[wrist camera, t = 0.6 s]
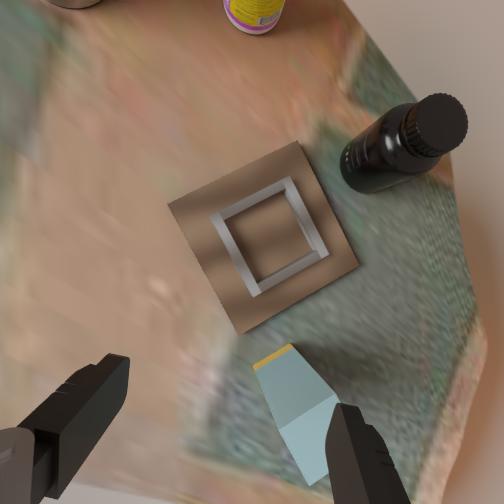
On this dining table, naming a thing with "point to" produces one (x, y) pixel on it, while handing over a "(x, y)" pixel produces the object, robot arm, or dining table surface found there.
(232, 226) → the socket board
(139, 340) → the dining table surface
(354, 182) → the supplement bottle
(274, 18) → the supplement bottle
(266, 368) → the peg
